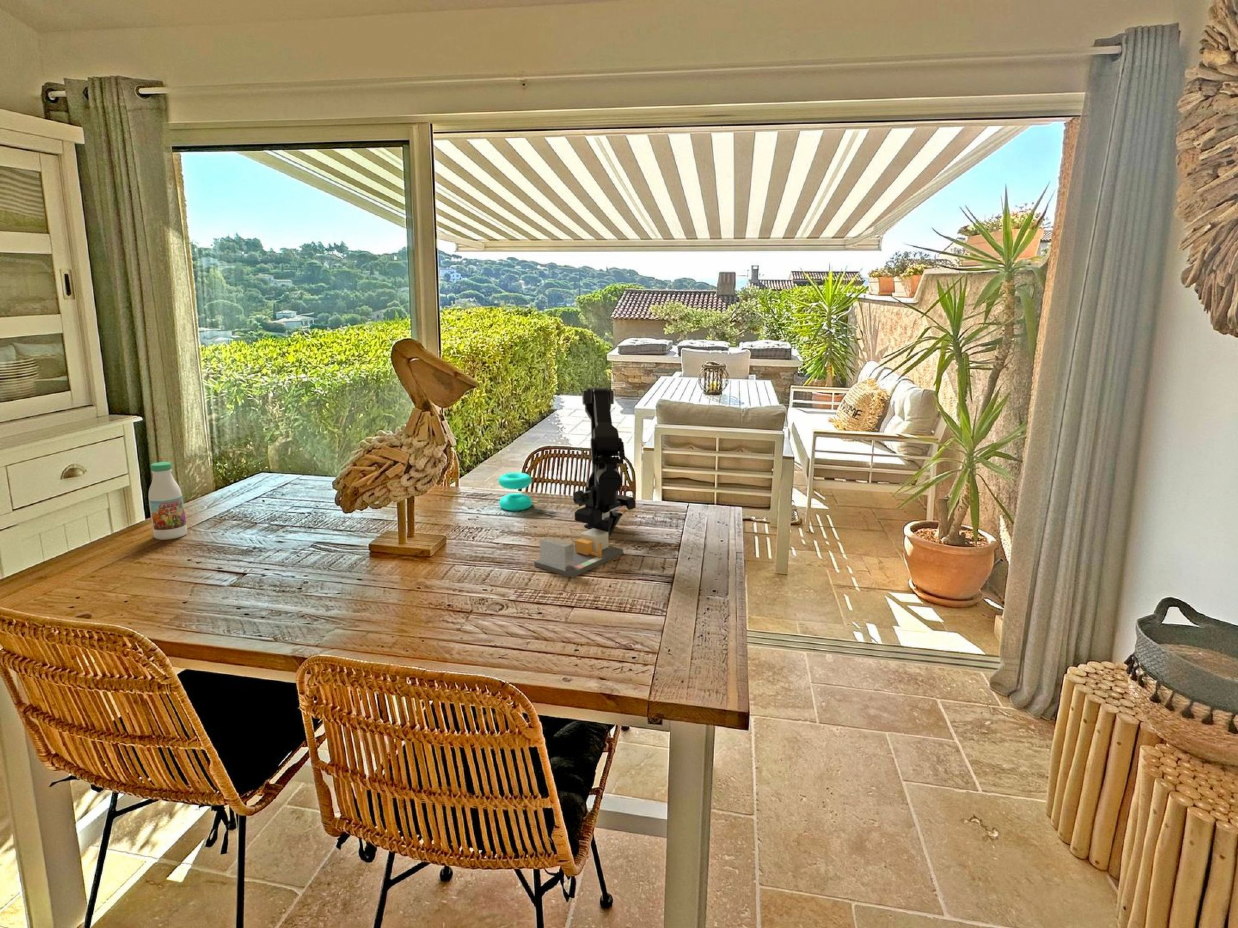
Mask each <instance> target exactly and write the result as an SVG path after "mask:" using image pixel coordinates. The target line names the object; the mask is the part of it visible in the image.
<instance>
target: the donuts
mask: <svg viewBox="0 0 1238 928" xmlns="http://www.w3.org/2000/svg"><path fill="white" fill-rule="evenodd" d="M532 481H533V480H532V477H531V475H529V473H528V474H527V473H526V472H508V473H505V474H502V475H500V476H499V478H498V484H499V485H500V486H501V487H503V488H504V489H507V490H521V489H524V488H527V487H529V486H530V485H531V483H532ZM498 504H499V507H500V508H501V509H503V510H505V511H511V512H512V511H519V512H520V511H524V510H526V509H529V508H530V507H532V505H533V499H532V497H530V496H529V495H527V494H524V493H518V492H517V493H508V494H506V495H503V496H502V497H501V498H500V499H499V502H498Z"/></svg>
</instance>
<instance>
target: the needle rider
mask: <svg viewBox="0 0 1238 928" xmlns="http://www.w3.org/2000/svg"><path fill="white" fill-rule="evenodd" d="M574 545H575V552H577V553H581V554H584V555H589V554H592V555H595V556H599V557H601V556H602V543H599V544H598V553H597V552H593V551H592V541H588V540H585V539H581V537H580V538H577V539H575V540H574Z"/></svg>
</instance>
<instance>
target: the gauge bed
mask: <svg viewBox="0 0 1238 928" xmlns="http://www.w3.org/2000/svg"><path fill="white" fill-rule="evenodd" d="M597 553H598V552H597ZM623 554H624V549H623V548H620V547H617V546H612V545H609V544H608V547H607V548H605V549H603V550H602V556H601V557H599V556H595V555H592V554H589V555H584V554H581V553H577V552H575V542H574V543H573V542H569V541H567V540H563V539H559V538H555V537H552V536H546V537H544V538H541V539H539V559H537V560H534V561H533V565H534V567H536V568H539V569H542V570H545V571H548V572H551V573H556V574H558V575H561V576H565V577H567V578H571V579H572V578H575V577H577V576H579V575H581V574H584V573H585V572H588V571H591V570H593V569H594V568H596V567H598V566H601V565H602V564H605V563H607V562H608V561H611V560H613V559H615V558H617V557H619V556H622V555H623Z"/></svg>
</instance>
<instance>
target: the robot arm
mask: <svg viewBox="0 0 1238 928" xmlns="http://www.w3.org/2000/svg"><path fill="white" fill-rule="evenodd" d="M581 396H582V399H581V400H582V406H584V411H585V413H586V415H587V416H588V418H589V420H590V435H591V436H590V437H591V438H590V454H591V456H590V457H591V469H592V471H591V474H590V476H589V478H588V479H587V481H586V486H585V487H584V491H583V490H582V489H580V490H578V491H574V492H573V494H572V495H573V497H572V500H573V503H574V505H578V507H581V508H579V509H576V510H575V512H574V521H575V522H580V523H583V524H584V525H583V527H584V528H587V529H589V530H590V529H592V528H594V529H598V530H602V531H606V532H608V541H609V540H610V538H611V536H612V534H613V532H614V530H615V529H616V526H617V525H618V523H619V521H620V519H621V517H623V512H622V513H621V512H619V510H618V509H619V508H622V507H625V508H626V509H627V510H628V511H631V510H633V509H635V508H636V504H637V503H636V499H635V498H634V497H633V496H629V495H624V494H619V491H621V490H622V489H621V488H622V485H623V484H622V483H623V478H622V475H621V474H620V471H619V470H618V464H619V465H620V464H624V460H625V459H626V455H625V454H626V453H625V443H624V442H623V439H622V437H620V436H619V435H620V434H619V430H618V428H616V427H615V426H614V425H613V421H612V413H611V409H612V405H614V404H615V399H614V397H615V394H614V390H610V389H609V387H588V388H587V387H586V390H584V391H582V395H581Z"/></svg>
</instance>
